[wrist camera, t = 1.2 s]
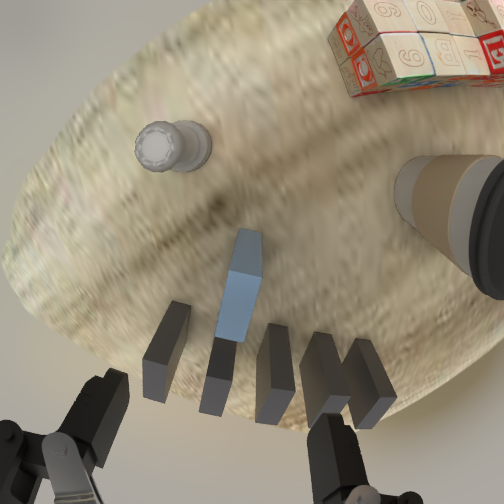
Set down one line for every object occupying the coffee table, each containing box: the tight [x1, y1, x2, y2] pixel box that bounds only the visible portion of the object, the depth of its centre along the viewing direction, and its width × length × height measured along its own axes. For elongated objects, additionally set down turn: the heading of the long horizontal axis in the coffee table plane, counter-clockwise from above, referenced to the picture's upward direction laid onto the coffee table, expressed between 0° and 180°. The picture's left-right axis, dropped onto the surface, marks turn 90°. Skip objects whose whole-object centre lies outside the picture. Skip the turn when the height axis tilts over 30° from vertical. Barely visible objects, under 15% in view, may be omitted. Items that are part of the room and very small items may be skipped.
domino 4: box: [299, 332, 352, 428], centre depth 25 cm, size 2×5×9 cm, turn 167°
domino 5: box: [342, 338, 397, 429], centre depth 26 cm, size 2×5×9 cm, turn 167°
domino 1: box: [142, 301, 191, 403], centre depth 25 cm, size 2×5×9 cm, turn 167°
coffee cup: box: [394, 155, 504, 300], centre depth 16 cm, size 9×9×15 cm
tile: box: [214, 228, 262, 343], centre depth 22 cm, size 2×5×9 cm, turn 167°
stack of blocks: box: [328, 0, 504, 97], centre depth 13 cm, size 21×6×12 cm, turn 108°
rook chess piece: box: [134, 121, 211, 172], centre depth 19 cm, size 4×4×8 cm
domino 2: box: [199, 337, 237, 417], centre depth 25 cm, size 2×5×9 cm, turn 167°
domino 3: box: [255, 323, 296, 425], centre depth 25 cm, size 2×5×9 cm, turn 167°
